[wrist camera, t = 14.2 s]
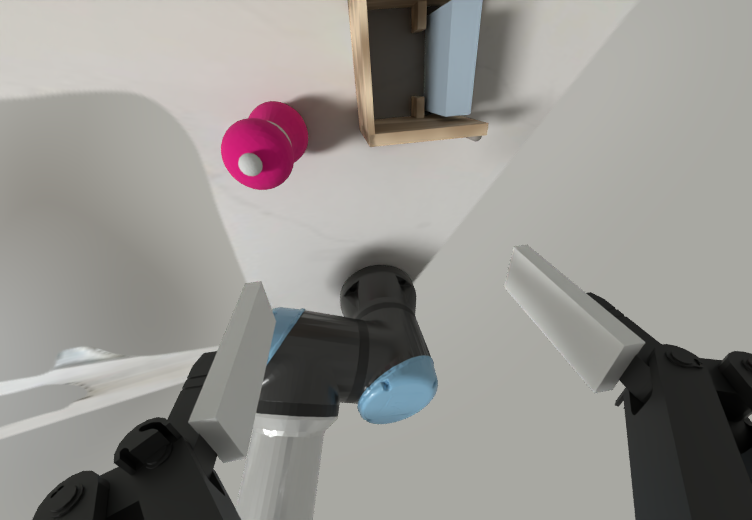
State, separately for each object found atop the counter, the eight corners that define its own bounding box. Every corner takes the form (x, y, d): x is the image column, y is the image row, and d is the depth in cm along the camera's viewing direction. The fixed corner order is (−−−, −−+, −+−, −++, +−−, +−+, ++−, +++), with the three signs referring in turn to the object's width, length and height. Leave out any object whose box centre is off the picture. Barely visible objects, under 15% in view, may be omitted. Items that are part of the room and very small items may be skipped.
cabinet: (453, 127, 41) (494, 142, 31) (360, 137, 40) (370, 155, 30) (464, -10, 33) (523, -49, 23) (347, -3, 32) (356, -41, 22)
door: (449, 107, 40) (477, 113, 32) (423, 109, 39) (445, 116, 32) (455, 15, 34) (490, -4, 27) (425, 17, 34) (452, -1, 26)
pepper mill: (320, 126, 39) (314, 161, 22) (291, 167, 41) (265, 227, 24) (273, 85, 35) (224, 90, 19) (244, 132, 38) (178, 173, 21)
